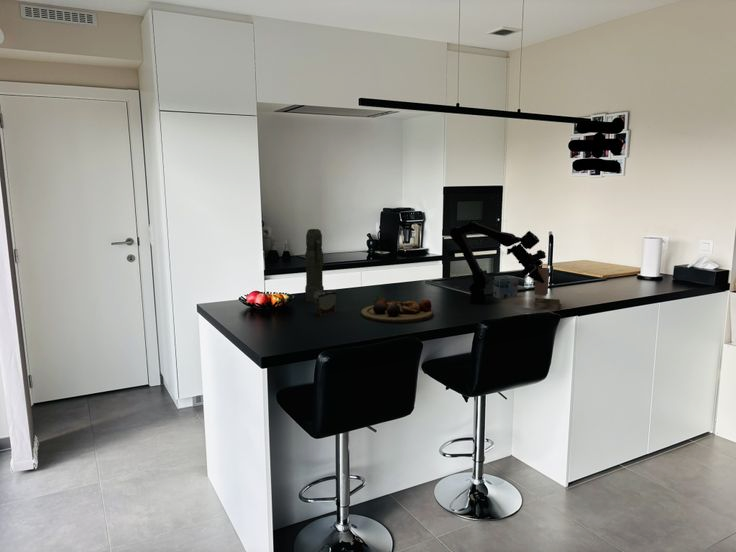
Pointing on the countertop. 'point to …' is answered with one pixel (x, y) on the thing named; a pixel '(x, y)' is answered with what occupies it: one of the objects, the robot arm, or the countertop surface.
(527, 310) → the trivet
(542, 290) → the block
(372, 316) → the wooden plate with food
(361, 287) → the countertop surface
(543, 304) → the sleeve
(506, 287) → the light bulb box
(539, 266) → the robot arm
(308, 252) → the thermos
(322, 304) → the food container
